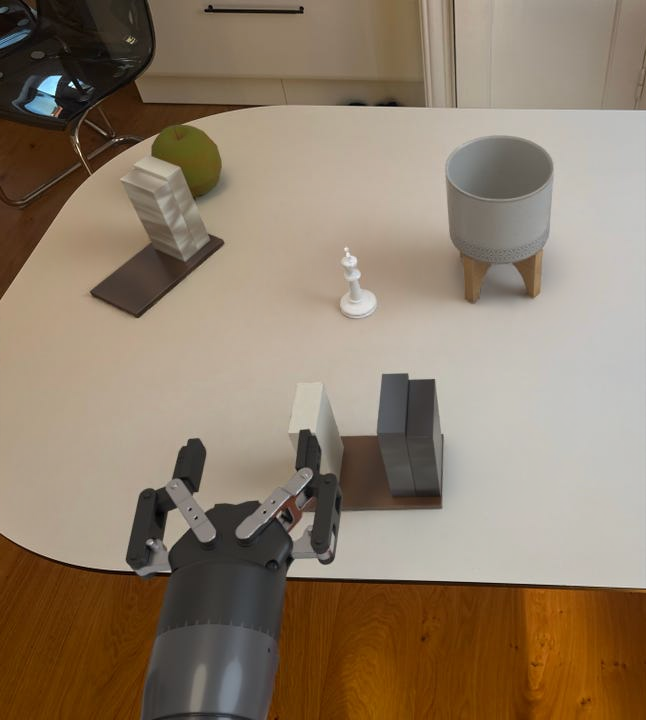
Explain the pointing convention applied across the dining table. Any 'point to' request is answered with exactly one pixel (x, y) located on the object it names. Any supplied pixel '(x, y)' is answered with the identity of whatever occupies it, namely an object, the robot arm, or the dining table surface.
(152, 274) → the white book stand
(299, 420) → the white book
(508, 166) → the planter
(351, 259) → the chess piece
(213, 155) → the apple
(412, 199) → the dining table surface
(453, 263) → the dining table surface
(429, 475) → the grey book stand
